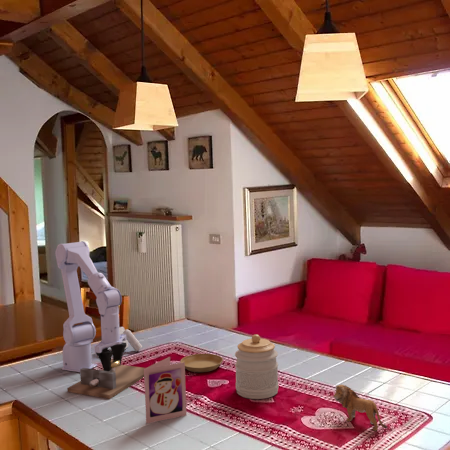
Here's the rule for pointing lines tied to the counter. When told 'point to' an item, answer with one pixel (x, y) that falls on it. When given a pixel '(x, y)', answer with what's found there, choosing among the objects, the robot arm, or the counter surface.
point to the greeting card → (165, 391)
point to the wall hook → (130, 339)
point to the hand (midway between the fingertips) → (112, 368)
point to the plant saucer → (202, 362)
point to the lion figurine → (357, 405)
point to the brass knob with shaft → (113, 364)
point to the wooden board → (107, 381)
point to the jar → (256, 368)
